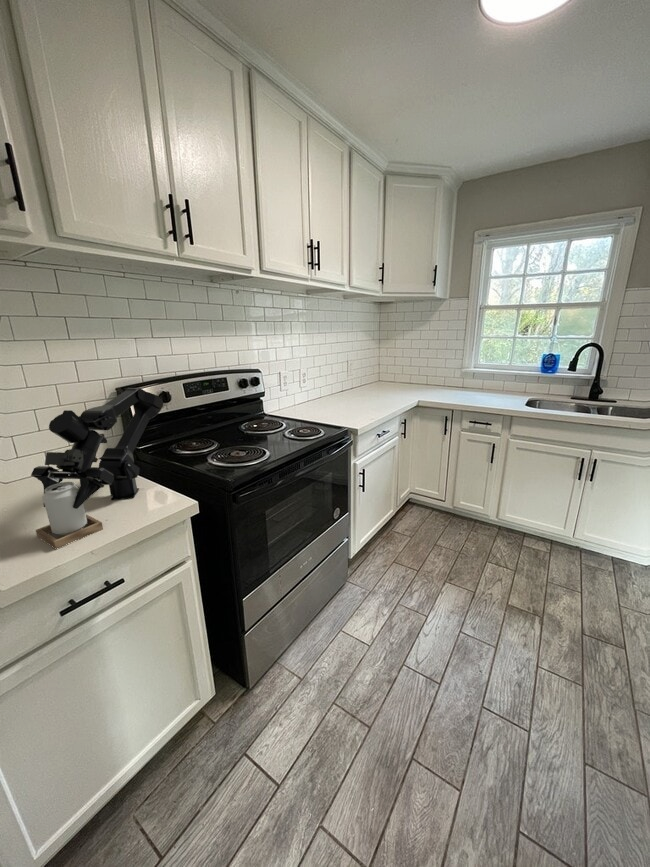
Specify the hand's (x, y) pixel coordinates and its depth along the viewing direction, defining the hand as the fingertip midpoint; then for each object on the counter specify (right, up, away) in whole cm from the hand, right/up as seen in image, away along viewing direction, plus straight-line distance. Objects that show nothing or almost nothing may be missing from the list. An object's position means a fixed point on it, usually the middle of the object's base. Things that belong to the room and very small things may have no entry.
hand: (60, 507), depth 87 cm
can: (0, -6, +3) cm, 7 cm away
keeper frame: (0, -7, +3) cm, 8 cm away
